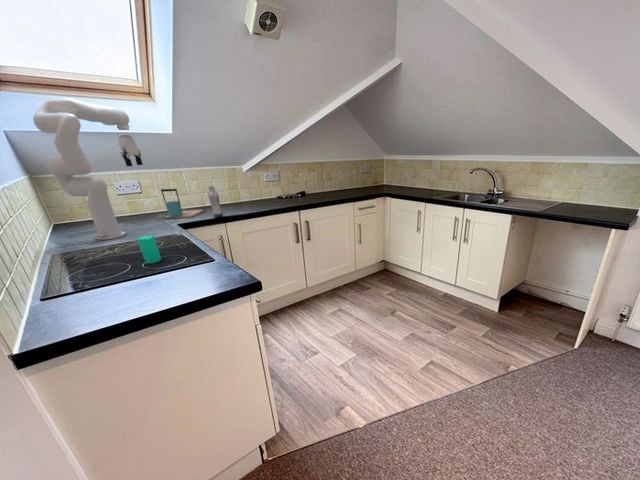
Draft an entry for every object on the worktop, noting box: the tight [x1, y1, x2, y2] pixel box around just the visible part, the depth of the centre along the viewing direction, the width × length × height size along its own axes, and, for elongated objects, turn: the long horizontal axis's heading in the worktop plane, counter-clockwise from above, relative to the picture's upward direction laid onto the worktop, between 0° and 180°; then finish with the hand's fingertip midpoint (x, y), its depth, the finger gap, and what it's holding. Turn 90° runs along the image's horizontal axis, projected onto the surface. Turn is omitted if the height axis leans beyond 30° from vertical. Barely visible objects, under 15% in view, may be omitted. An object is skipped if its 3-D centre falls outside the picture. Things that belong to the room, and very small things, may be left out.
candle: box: [136, 233, 162, 264], centre depth 125 cm, size 6×6×12 cm
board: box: [163, 209, 205, 219], centre depth 211 cm, size 20×18×1 cm
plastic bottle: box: [207, 186, 224, 219], centre depth 197 cm, size 6×7×20 cm
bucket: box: [160, 188, 183, 217], centre depth 201 cm, size 18×10×8 cm
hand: (135, 165), depth 186 cm, fingers open, 9 cm apart
